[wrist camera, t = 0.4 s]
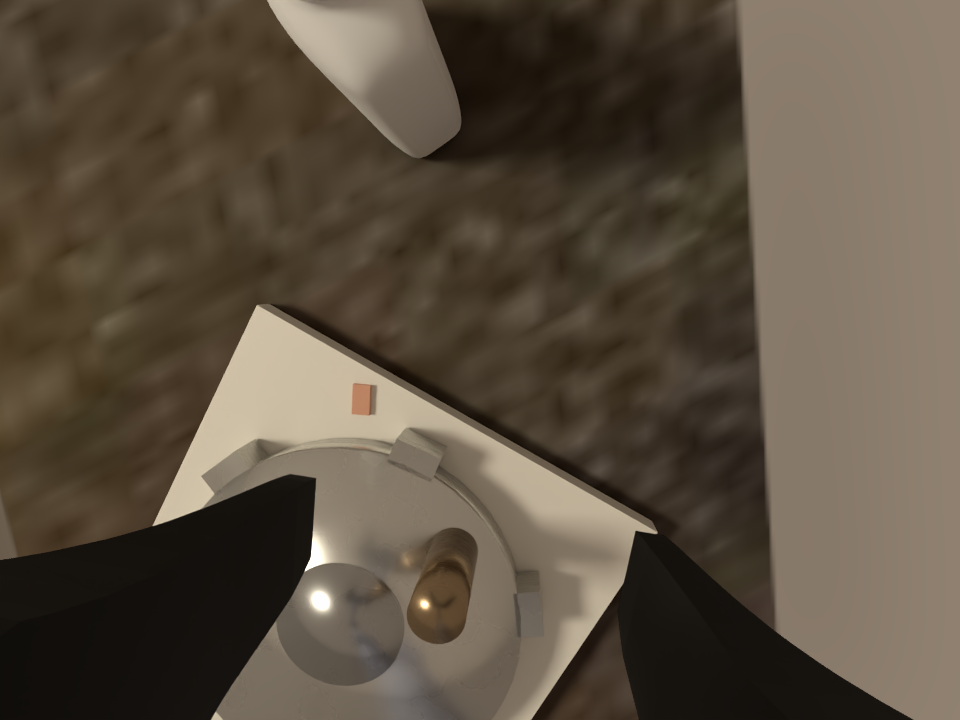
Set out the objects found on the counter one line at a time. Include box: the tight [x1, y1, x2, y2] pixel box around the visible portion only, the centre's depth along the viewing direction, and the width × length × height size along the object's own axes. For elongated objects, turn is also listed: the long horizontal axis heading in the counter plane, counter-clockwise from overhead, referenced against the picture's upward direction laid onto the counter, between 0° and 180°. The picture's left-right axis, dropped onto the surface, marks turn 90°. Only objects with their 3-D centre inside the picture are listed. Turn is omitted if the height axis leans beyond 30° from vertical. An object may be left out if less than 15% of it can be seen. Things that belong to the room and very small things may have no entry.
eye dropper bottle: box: [267, 0, 461, 158], centre depth 14 cm, size 4×6×12 cm
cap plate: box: [153, 304, 658, 720], centre depth 23 cm, size 18×18×1 cm
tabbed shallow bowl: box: [201, 428, 544, 720], centre depth 20 cm, size 14×16×6 cm
